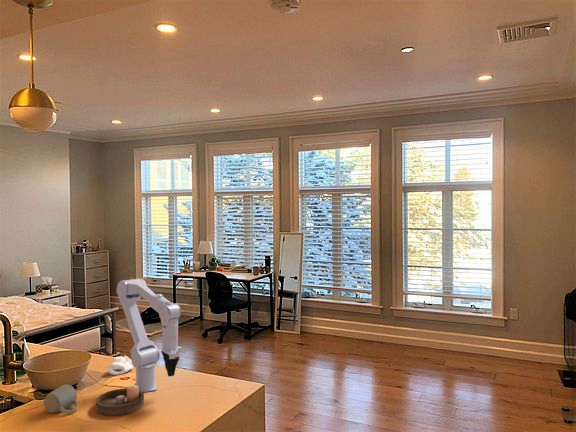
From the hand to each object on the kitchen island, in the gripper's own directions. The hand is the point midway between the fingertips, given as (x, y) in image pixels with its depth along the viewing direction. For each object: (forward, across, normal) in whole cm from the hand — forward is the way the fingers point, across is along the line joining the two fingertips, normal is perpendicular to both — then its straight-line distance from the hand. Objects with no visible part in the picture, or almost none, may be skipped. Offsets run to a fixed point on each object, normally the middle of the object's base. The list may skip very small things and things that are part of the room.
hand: (169, 372), depth 168 cm
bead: (+8, -2, +13) cm, 16 cm away
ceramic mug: (+10, +2, +36) cm, 38 cm away
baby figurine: (+10, +35, +16) cm, 40 cm away
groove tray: (+9, -2, +18) cm, 20 cm away
